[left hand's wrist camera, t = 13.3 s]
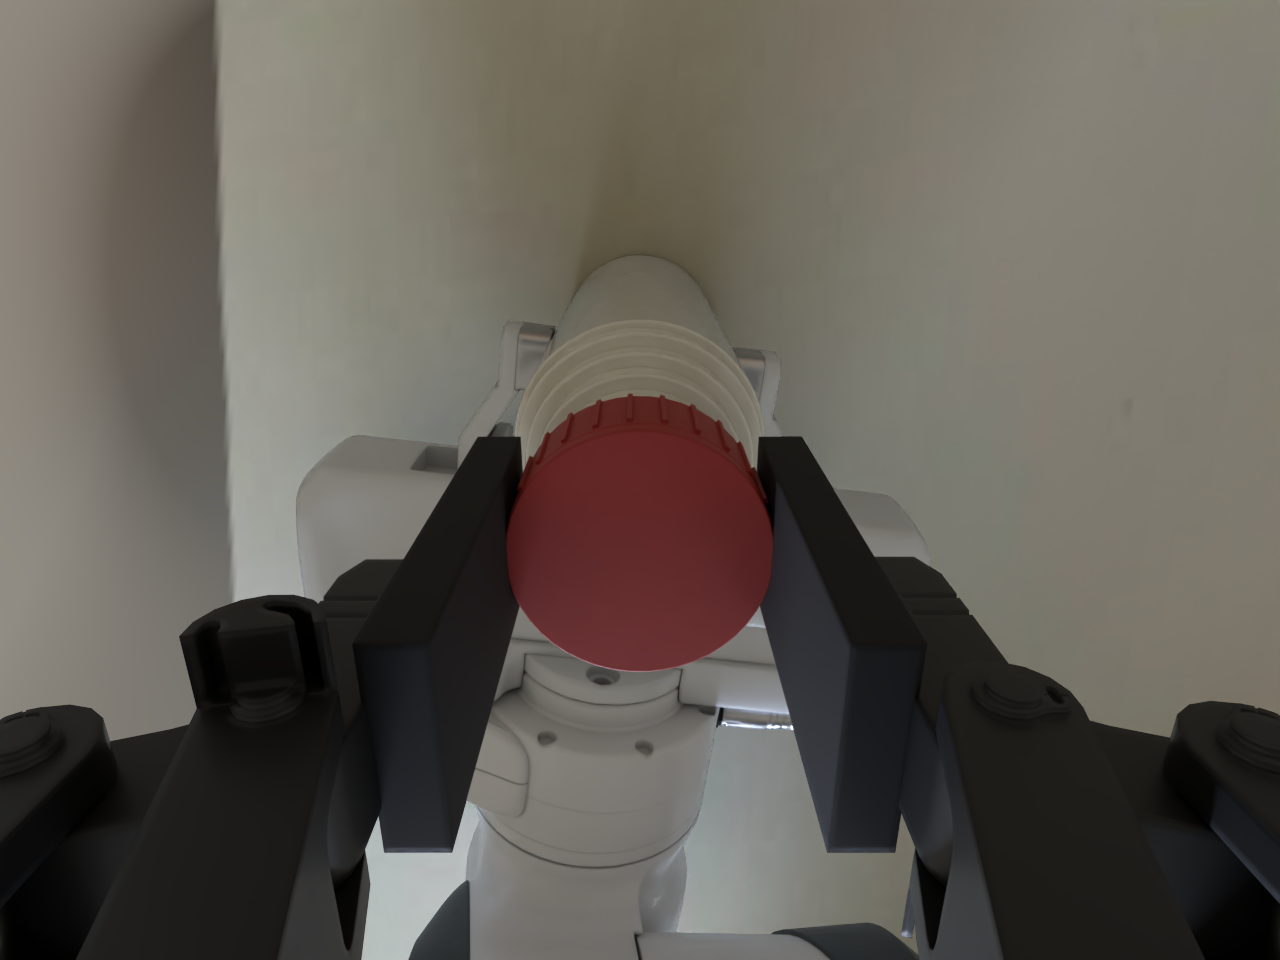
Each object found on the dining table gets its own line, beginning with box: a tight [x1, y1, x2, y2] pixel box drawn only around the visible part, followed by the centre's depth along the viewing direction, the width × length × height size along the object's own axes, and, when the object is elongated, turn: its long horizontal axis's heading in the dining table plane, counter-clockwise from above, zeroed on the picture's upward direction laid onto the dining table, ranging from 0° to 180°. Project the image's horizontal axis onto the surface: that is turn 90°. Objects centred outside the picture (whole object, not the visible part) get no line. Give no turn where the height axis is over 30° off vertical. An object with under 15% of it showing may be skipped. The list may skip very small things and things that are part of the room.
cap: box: [506, 393, 773, 672], centre depth 13 cm, size 4×4×2 cm
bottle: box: [514, 255, 765, 471], centre depth 22 cm, size 6×6×19 cm
